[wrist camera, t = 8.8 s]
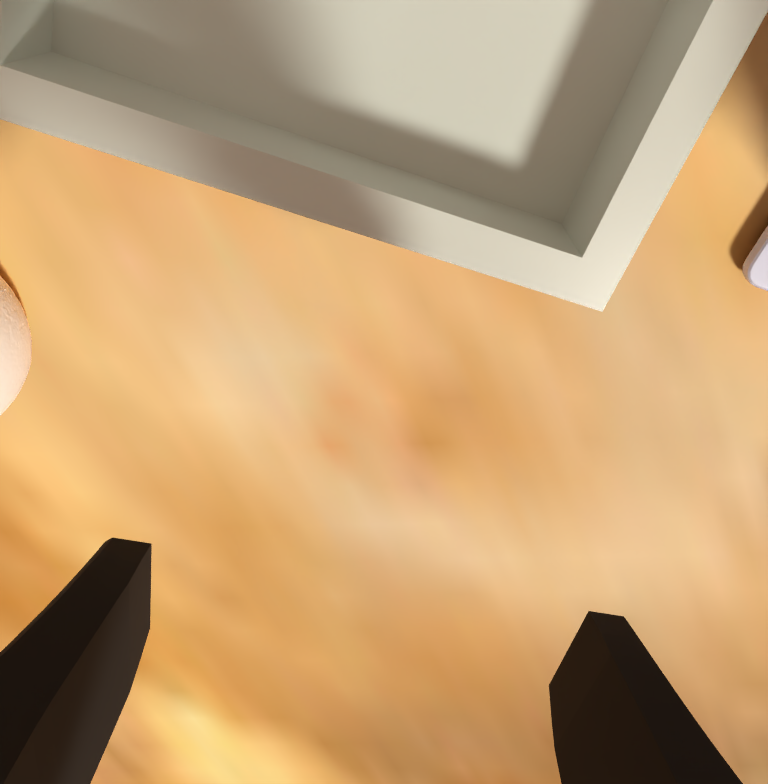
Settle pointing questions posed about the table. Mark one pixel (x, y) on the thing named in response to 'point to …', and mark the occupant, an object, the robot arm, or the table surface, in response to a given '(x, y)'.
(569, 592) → the table surface
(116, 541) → the robot arm
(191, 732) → the table surface
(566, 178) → the tray
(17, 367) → the garlic bulb
